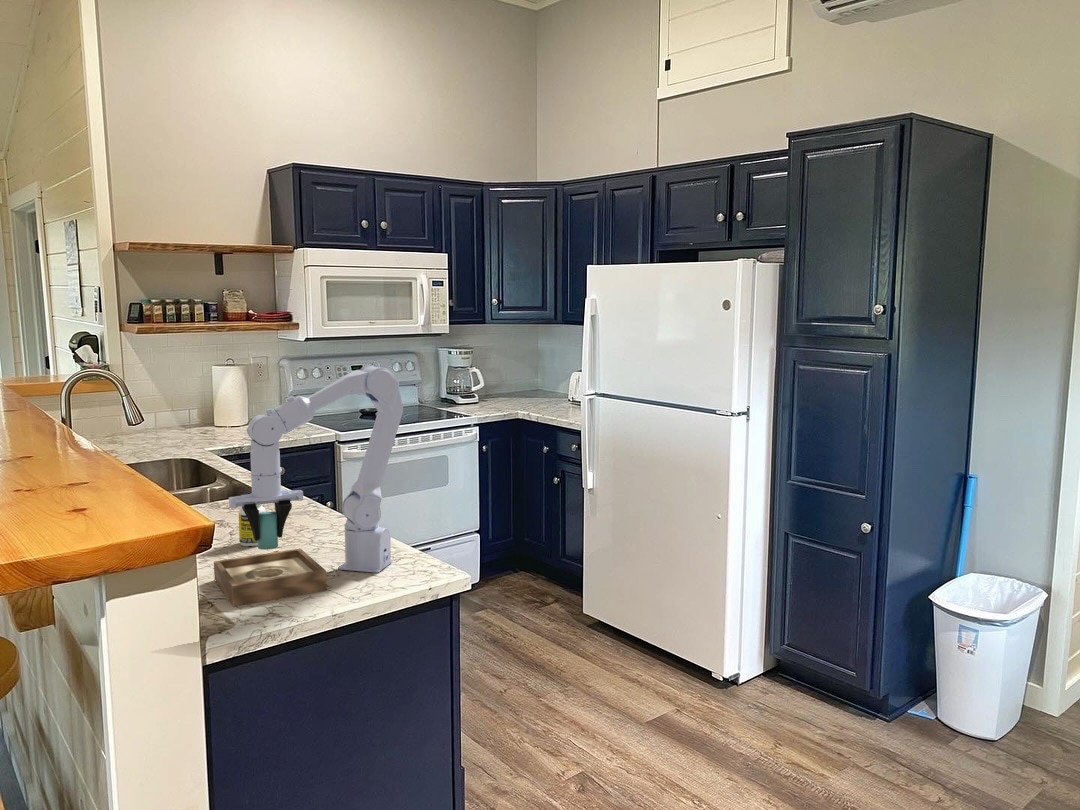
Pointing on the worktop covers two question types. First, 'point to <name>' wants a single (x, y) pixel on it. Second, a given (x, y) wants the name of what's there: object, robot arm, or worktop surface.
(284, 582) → the walnut box
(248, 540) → the pill bottle
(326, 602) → the worktop surface
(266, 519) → the peg
